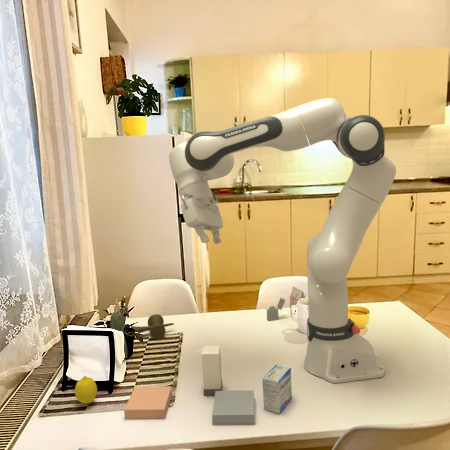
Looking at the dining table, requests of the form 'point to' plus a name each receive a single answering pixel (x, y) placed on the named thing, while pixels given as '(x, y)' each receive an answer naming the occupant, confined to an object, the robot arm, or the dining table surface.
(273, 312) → the lighter
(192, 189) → the robot arm
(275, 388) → the medicine box
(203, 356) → the banded sleeve
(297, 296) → the tea bag
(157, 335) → the kendama
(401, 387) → the dining table surface
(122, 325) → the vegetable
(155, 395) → the terracotta stand
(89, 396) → the fruit
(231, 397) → the slate stand
